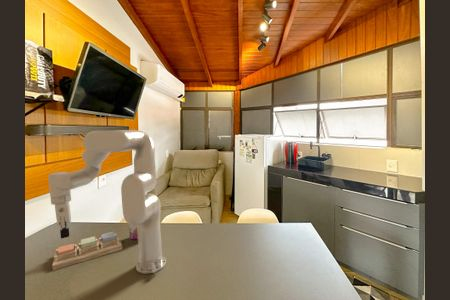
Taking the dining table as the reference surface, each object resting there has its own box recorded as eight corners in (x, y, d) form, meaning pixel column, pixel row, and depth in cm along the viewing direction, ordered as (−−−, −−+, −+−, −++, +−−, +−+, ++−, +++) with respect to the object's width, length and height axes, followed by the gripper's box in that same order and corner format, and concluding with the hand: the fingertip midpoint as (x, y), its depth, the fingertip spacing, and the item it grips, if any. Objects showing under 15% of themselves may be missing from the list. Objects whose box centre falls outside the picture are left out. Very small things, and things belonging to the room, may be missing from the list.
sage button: (96, 246, 109) (95, 240, 109) (81, 250, 106) (81, 244, 106) (95, 241, 114) (94, 236, 114) (81, 245, 111) (80, 239, 110)
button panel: (122, 249, 112) (121, 240, 112) (52, 270, 97) (51, 260, 96) (117, 238, 124) (117, 231, 123) (55, 256, 108) (54, 247, 108)
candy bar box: (129, 239, 122) (127, 210, 121) (134, 235, 127) (132, 207, 126) (149, 240, 121) (147, 210, 120) (152, 235, 126) (150, 207, 125)
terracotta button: (74, 254, 104) (73, 248, 104) (58, 259, 101) (57, 252, 101) (74, 249, 109) (73, 243, 109) (59, 253, 106) (58, 247, 106)
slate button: (116, 240, 114) (115, 235, 114) (103, 244, 111) (102, 238, 111) (114, 236, 119) (114, 231, 119) (101, 240, 116) (101, 234, 115)
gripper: (70, 200, 99) (74, 240, 100) (71, 194, 111) (74, 229, 113) (49, 204, 94) (54, 245, 96) (52, 197, 107) (56, 233, 108)
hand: (65, 236), depth 104 cm, fingers closed
